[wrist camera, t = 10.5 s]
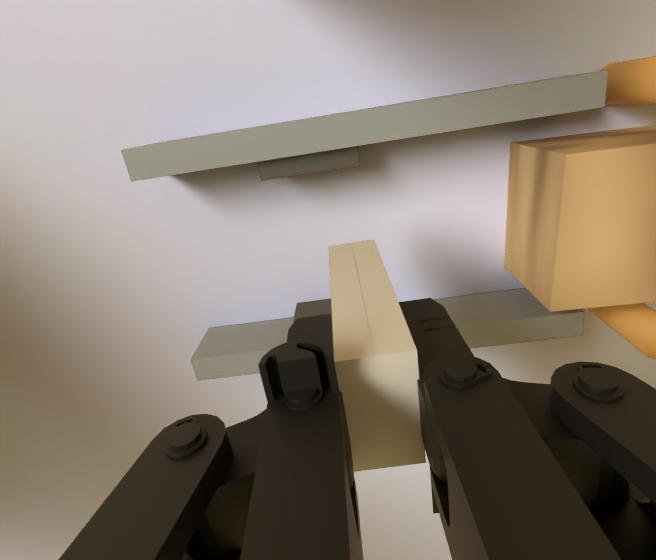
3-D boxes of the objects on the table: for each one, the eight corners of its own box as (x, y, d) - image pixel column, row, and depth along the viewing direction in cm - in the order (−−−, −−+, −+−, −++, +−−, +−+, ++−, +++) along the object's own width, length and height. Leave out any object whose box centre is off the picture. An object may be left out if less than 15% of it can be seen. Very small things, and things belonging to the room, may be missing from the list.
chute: (215, 350, 23) (184, 411, 18) (151, 139, 18) (90, 149, 14) (605, 302, 21) (680, 356, 17) (634, 59, 17) (746, 41, 12)
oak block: (502, 266, 21) (550, 311, 16) (508, 142, 18) (566, 154, 14) (689, 247, 20) (793, 288, 16) (719, 116, 18) (852, 120, 13)
